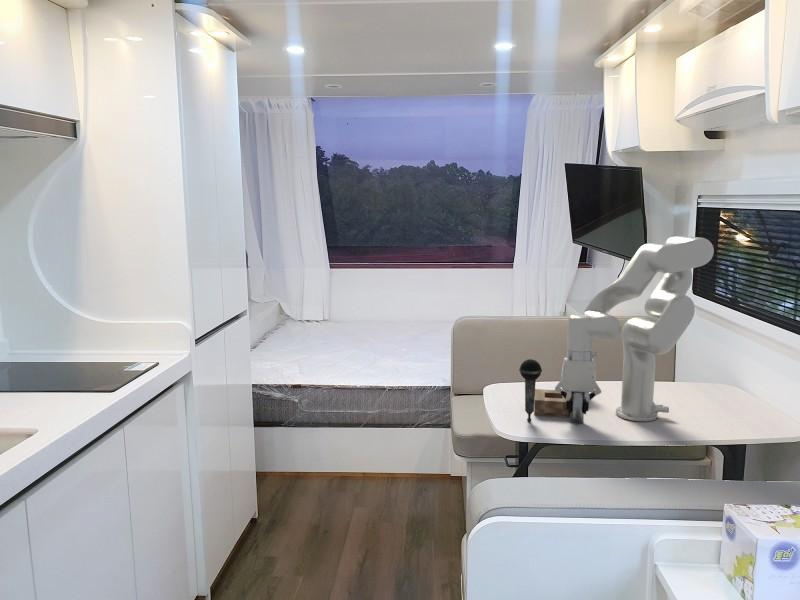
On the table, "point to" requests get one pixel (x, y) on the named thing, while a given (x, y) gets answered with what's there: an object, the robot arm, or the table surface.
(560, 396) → the socket block
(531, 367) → the microphone
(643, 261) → the robot arm
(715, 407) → the table surface
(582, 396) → the pin
